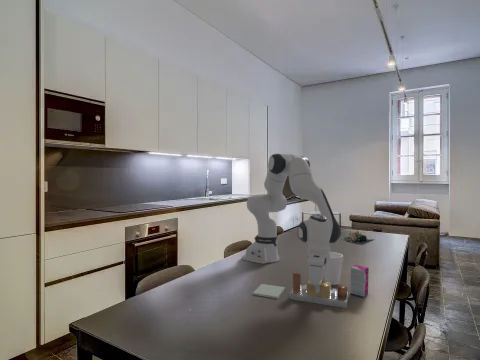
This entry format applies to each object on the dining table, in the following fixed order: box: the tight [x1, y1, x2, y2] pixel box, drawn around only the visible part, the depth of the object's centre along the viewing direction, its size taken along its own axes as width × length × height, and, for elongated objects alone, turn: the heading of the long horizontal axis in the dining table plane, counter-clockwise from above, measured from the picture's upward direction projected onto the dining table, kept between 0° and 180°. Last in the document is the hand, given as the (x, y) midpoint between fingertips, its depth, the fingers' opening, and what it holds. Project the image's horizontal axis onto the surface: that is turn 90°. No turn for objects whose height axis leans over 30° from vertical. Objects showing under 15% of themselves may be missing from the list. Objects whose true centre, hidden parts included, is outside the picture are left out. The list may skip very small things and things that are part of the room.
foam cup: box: [324, 251, 344, 286], centre depth 140 cm, size 10×9×13 cm
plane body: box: [289, 271, 349, 309], centre depth 122 cm, size 22×10×10 cm, turn 66°
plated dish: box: [341, 228, 375, 246], centre depth 229 cm, size 35×28×7 cm
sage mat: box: [252, 283, 286, 300], centre depth 129 cm, size 11×11×1 cm
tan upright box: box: [306, 278, 332, 296], centre depth 122 cm, size 9×5×4 cm, turn 66°
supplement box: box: [349, 264, 370, 298], centre depth 126 cm, size 6×6×12 cm
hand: (319, 289), depth 122 cm, fingers closed on tan upright box, 5 cm apart
